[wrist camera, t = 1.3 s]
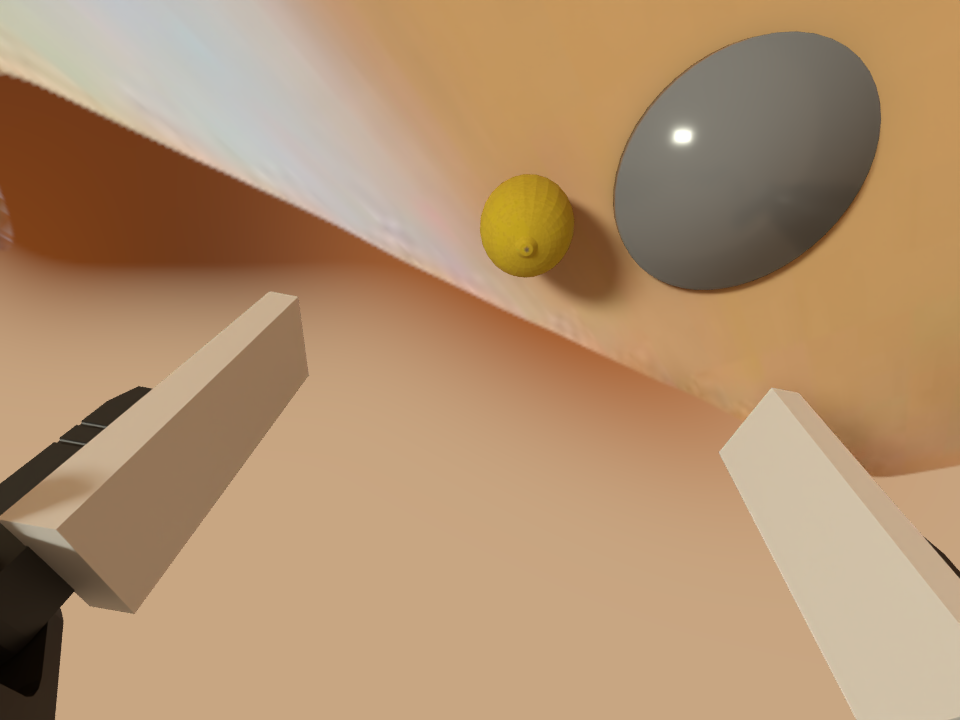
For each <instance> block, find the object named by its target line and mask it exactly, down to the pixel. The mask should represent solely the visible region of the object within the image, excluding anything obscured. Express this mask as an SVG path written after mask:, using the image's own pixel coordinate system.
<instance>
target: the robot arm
mask: <svg viewBox="0 0 960 720" xmlns="http://www.w3.org/2000/svg"><path fill="white" fill-rule="evenodd" d="M307 377H308V367H307V360H306V353H305V344H304V337H303V329H302V322H301V314H300V307H299V300H298V297H297V296H291V295H286V294H281V293H276V292H269V293H267V294H266V295H265V296H264V297H262V298H261V299H260V300H259V301H258V302H256V303H255V304H254V305H253V306H252V307H250V308H249V309H248V310H247V311H246V312H244V313H243V314H242V315H241V316H240V317H238V318H237V319H236V320H235V321H234V322H232V323H231V324H230V325H229V326H228V327H226V328H225V329H224V330H223V331H222V332H220V333H219V334H218V335H217V336H216V337H214V338H213V339H212V340H211V341H210V342H208V343H207V344H206V345H205V346H204V347H202V348H201V349H200V350H199V351H198V352H196V353H195V354H194V355H193V356H192V357H190V358H189V359H188V360H187V361H186V362H184V363H183V364H182V365H181V366H180V367H178V368H177V369H176V370H175V371H174V372H172V373H171V374H170V375H169V376H168V377H166V378H165V379H164V380H163V381H162V382H160V383H159V384H158V385H157V386H155V387H154V388H153V389H151V388H146V387H140V386H138V387H136V388H134V389H132V390H130V391H128V392H126V393H123V394H122V395H119V396H117V397H115V398H113V399H111V400H109V401H107V402H106V403H104V404H103V405H102V406H100V407H99V408H98V409H97V410H95V411H94V412H93V413H91V414H90V415H89V416H87V417H86V418H85V419H84V420H82V423H81V425H76V426H74V427H73V428H72V429H71V430H69V431H68V432H67V433H65V434H64V435H63V436H61V437H60V441H59V442H58V443H55V442H54V443H52V444H51V445H50V446H49V447H47V448H46V449H45V450H43V451H42V452H41V453H39V454H38V455H37V456H36V457H34V458H33V459H32V460H31V461H29V462H28V463H26V464H25V465H24V466H23V467H21V468H20V469H19V470H17V471H16V472H15V473H14V474H12V475H11V476H10V477H8V478H7V479H6V480H5V481H3V482H2V483H1V484H0V720H55V711H56V699H57V689H58V688H57V687H58V677H59V666H60V655H61V643H62V632H63V617H62V612H61V609H60V607H61V606H62V605H63V604H64V602H65V601H66V600H67V599H68V598H69V597H70V596H71V594H72V593H73V592H75V593H77V595H79V596H80V597H81V598H82V599H83V600H84V601H85V602H86V603H87V604H88V605H89V606H93V607H98V608H104V609H110V610H115V611H121V612H127V613H133V614H135V612H136V611H137V610H138V608H139V607H140V605H141V604H142V603H143V601H144V600H145V599H146V597H147V596H148V595H149V593H150V592H151V590H152V589H153V588H154V586H155V585H156V584H157V582H158V581H159V579H160V578H161V577H162V575H163V574H164V573H165V571H166V570H167V569H168V567H169V566H170V564H171V563H172V561H173V560H174V559H175V557H176V556H177V555H178V553H179V552H180V551H181V549H182V548H183V546H184V545H185V544H186V543H187V541H188V540H189V538H190V537H191V536H192V534H193V533H194V532H195V530H196V529H197V527H198V526H199V525H200V523H201V522H202V521H203V519H204V518H205V517H206V515H207V514H208V512H209V511H210V509H211V508H212V507H213V506H214V504H215V503H216V501H217V500H218V499H219V497H220V496H221V495H222V493H223V492H224V490H225V489H226V488H227V486H228V485H229V484H230V482H231V481H232V480H233V478H234V477H235V475H236V474H237V473H238V471H239V470H240V468H241V467H242V466H243V464H244V463H245V462H246V460H247V459H248V458H249V456H250V455H251V454H252V452H253V451H254V449H255V448H256V447H257V445H258V444H259V443H260V441H261V440H262V438H263V437H264V436H265V434H266V433H267V432H268V430H269V429H270V428H271V426H272V425H273V423H274V422H275V421H276V419H277V418H278V416H279V415H280V414H281V412H282V411H283V410H284V408H285V407H286V406H287V404H288V403H289V401H290V400H291V399H292V397H293V396H294V395H295V393H296V392H297V391H298V389H299V388H300V386H301V385H302V384H303V382H304V381H305V380H306V378H307ZM719 454H720V456H721V458H722V460H723V462H724V464H725V466H726V468H727V469H728V472H729V473H730V476H731V477H732V479H733V481H734V483H735V485H736V487H737V489H738V491H739V493H740V495H741V497H742V499H743V501H744V503H745V505H746V507H747V508H748V510H749V512H750V514H751V516H752V518H753V520H754V522H755V524H756V526H757V528H758V530H759V532H760V534H761V536H762V538H763V540H764V542H765V543H766V545H767V547H768V549H769V551H770V553H771V555H772V557H773V559H774V561H775V563H776V565H777V567H778V569H779V571H780V573H781V575H782V576H783V578H784V580H785V582H786V584H787V586H788V588H789V590H790V592H791V594H792V596H793V598H794V600H795V602H796V604H797V606H798V608H799V609H800V611H801V613H802V615H803V617H804V619H805V621H806V623H807V625H808V627H809V629H810V631H811V633H812V635H813V636H814V639H815V641H816V642H817V644H818V646H819V648H820V650H821V652H822V654H823V656H824V658H825V660H826V662H827V664H828V666H829V668H830V669H831V672H832V673H833V675H834V677H835V679H836V681H837V683H838V685H839V687H840V689H841V691H842V693H843V695H844V697H845V699H846V701H847V703H848V705H849V706H850V708H851V710H852V712H853V714H854V716H855V718H856V720H960V571H959V570H958V569H957V568H956V567H955V566H954V565H953V563H952V562H951V561H950V560H949V559H948V558H947V557H946V555H945V554H944V553H942V552H941V551H940V550H939V549H938V548H937V547H935V546H934V545H933V544H932V543H931V542H929V541H928V540H927V539H926V538H925V537H923V536H922V535H921V533H920V532H919V531H918V530H917V529H916V528H915V527H914V525H913V524H912V523H911V522H910V521H909V520H908V518H907V517H906V516H905V515H904V514H903V513H902V512H901V510H900V509H899V508H898V507H897V506H896V505H895V503H894V502H893V501H892V500H891V499H890V498H889V497H888V495H887V494H886V493H885V492H884V491H883V490H882V488H881V487H880V486H879V485H878V484H877V483H876V482H875V481H874V479H873V478H872V477H871V476H870V475H869V473H868V472H867V471H866V470H865V469H864V468H863V466H862V465H861V464H860V463H859V462H858V461H857V460H856V458H855V457H854V456H853V455H852V454H851V453H850V451H849V450H848V449H847V448H846V447H845V446H844V445H843V443H842V442H841V441H840V440H839V439H838V438H837V436H836V435H835V434H834V433H833V432H832V431H831V430H830V428H829V427H828V426H827V425H826V424H825V423H824V421H823V420H822V419H821V418H820V417H819V416H818V415H817V413H816V412H815V411H814V410H813V409H812V408H811V406H810V405H809V404H808V403H807V402H806V401H805V400H804V398H803V397H802V396H801V395H800V394H799V393H797V392H792V391H787V390H782V389H777V388H771V389H770V390H769V391H768V393H767V394H766V395H765V396H764V398H763V399H762V400H761V401H760V402H759V404H758V405H757V406H756V407H755V408H754V410H753V411H752V412H751V413H750V415H749V416H748V417H747V418H746V419H745V421H744V422H743V423H742V424H741V426H740V427H739V428H738V429H737V430H736V432H735V433H734V434H733V435H732V437H731V438H730V439H729V440H728V441H727V443H726V444H725V445H724V446H723V448H722V449H721V450H720V451H719Z"/></svg>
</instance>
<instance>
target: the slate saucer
mask: <svg viewBox="0 0 960 720" xmlns="http://www.w3.org/2000/svg"><path fill="white" fill-rule="evenodd" d="M880 124H881V113H880V101H879V96H878V92H877V88H876V85H875V82H874V80H873V78H872V76H871V74H870V71H869V70H868V69H867V67H866V66H865V64H864V63H863V62H862V60H861V59H860V58H859V57H858V56H857V55H856V54H855V53H853V52H852V51H851V50H850V49H849V48H848V47H846V46H844V45H843V44H841V43H839V42H837V41H835V40H833V39H831V38H828V37H825V36H821V35H818V34H814V33H805V32H779V33H772V34H767V35H762V36H757V37H752V38H747V39H744V40H741V41H739V42H736V43H733V44H730V45H727V46H725V47H723V48H721V49H719V50H717V51H715V52H713V53H711V54H709V55H707V56H706V57H704V58H703V59H701V60H699V61H698V62H696V63H695V64H693V65H692V66H690V67H689V68H688V69H687V70H685V71H684V72H683V73H681V74H680V75H679V76H678V77H676V78H675V79H674V80H673V81H672V82H671V83H670V84H669V85H668V86H667V87H666V88H665V89H664V90H663V91H662V92H661V93H660V94H659V95H658V96H657V97H656V99H655V100H654V101H653V102H652V103H651V105H650V106H649V107H648V108H647V110H646V111H645V113H644V114H643V115H642V117H641V118H640V120H639V121H638V123H637V124H636V126H635V128H634V130H633V132H632V133H631V135H630V137H629V139H628V141H627V143H626V146H625V148H624V151H623V153H622V156H621V158H620V162H619V165H618V169H617V172H616V177H615V184H614V192H613V207H614V217H615V221H616V225H617V229H618V232H619V235H620V237H621V239H622V242H623V243H624V245H625V247H626V248H627V250H628V252H629V253H630V255H631V257H632V258H633V259H634V260H635V261H636V263H637V264H638V265H639V266H640V267H641V268H642V269H644V270H645V271H646V272H647V273H648V274H650V275H652V276H653V277H655V278H657V279H658V280H660V281H663V282H665V283H667V284H670V285H673V286H677V287H681V288H687V289H694V290H712V289H722V288H727V287H732V286H737V285H740V284H744V283H747V282H750V281H753V280H756V279H758V278H761V277H763V276H765V275H768V274H770V273H772V272H774V271H775V270H777V269H779V268H781V267H783V266H785V265H786V264H788V263H789V262H791V261H792V260H794V259H796V258H797V257H799V256H800V255H801V254H802V253H804V252H805V251H806V250H808V249H809V248H810V247H812V246H813V245H814V244H815V243H816V242H817V241H818V240H819V239H821V238H822V237H823V236H824V235H825V234H826V233H827V232H828V231H829V230H830V229H831V228H832V226H833V225H834V224H835V223H836V222H837V221H838V220H839V219H840V217H841V216H842V215H843V213H844V212H845V211H846V210H847V208H848V207H849V206H850V204H851V203H852V201H853V200H854V198H855V196H856V195H857V193H858V192H859V190H860V188H861V186H862V184H863V182H864V180H865V178H866V176H867V174H868V172H869V170H870V167H871V164H872V162H873V159H874V156H875V152H876V148H877V144H878V140H879V133H880Z"/></svg>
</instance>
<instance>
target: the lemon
mask: <svg viewBox="0 0 960 720" xmlns="http://www.w3.org/2000/svg"><path fill="white" fill-rule="evenodd" d="M573 231H574V216H573V210H572V206H571V204H570V202H569V200H568V198H567V196H566V194H565V193H564V192H563V190H562V189H561V188H560V187H559V186H558V185H557V184H556V183H554V182H553V181H551V180H549V179H548V178H545V177H542V176H539V175H530V174H524V175H520V176H516V177H512V178H510V179H508V180H507V181H505V182H503V183H501V184H500V185H499V186H498V187H497V188H496V189H495V190H494V191H493V192H492V193H491V195H490V197H489V198H488V200H487V201H486V203H485V206H484V209H483V212H482V215H481V223H480V233H481V239H482V244H483V246H484V248H485V251H486V253H487V255H488V257H489V258H490V259H491V260H492V262H493V263H494V264H495V265H496V266H497V267H498V268H500V269H501V270H502V271H504V272H506V273H508V274H511V275H513V276H518V277H534V276H537V275H540V274H543V273H545V272H547V271H549V270H550V269H552V268H553V267H554V266H556V265H557V264H558V263H559V262H560V261H561V260H562V258H563V257H564V255H565V253H566V252H567V250H568V248H569V246H570V243H571V240H572V237H573Z"/></svg>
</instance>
